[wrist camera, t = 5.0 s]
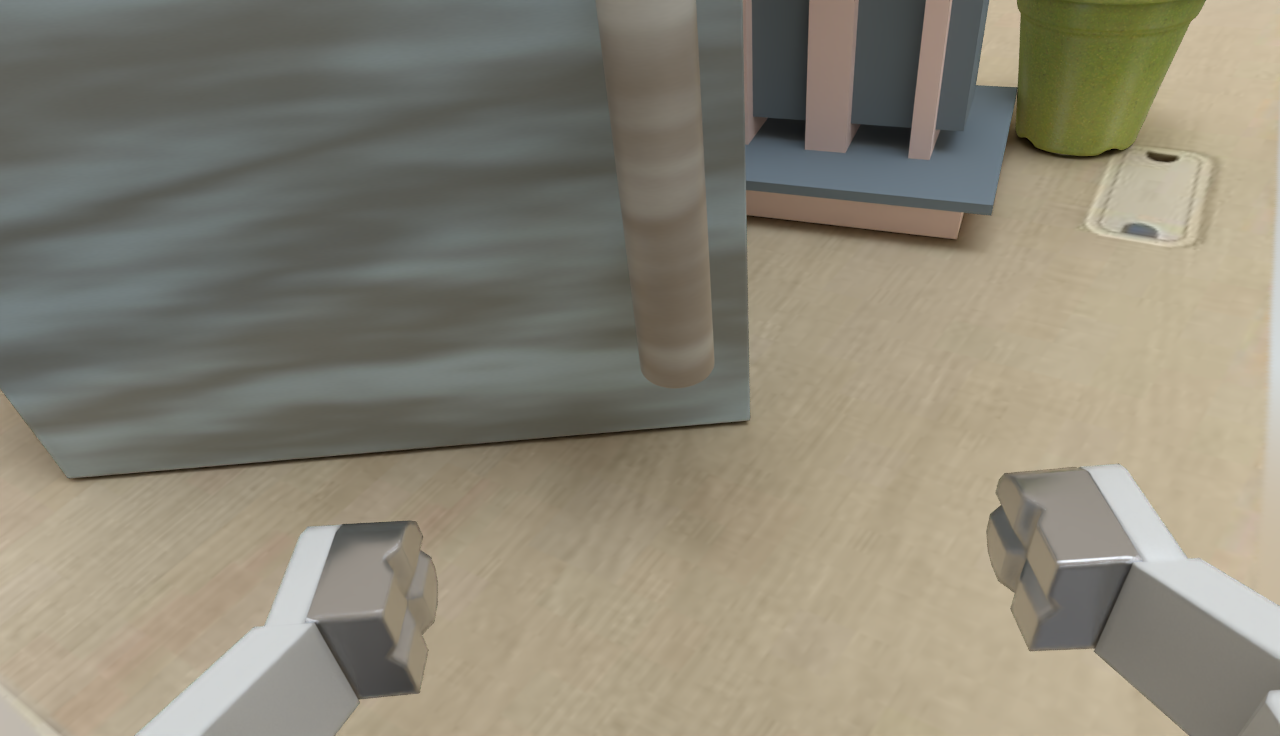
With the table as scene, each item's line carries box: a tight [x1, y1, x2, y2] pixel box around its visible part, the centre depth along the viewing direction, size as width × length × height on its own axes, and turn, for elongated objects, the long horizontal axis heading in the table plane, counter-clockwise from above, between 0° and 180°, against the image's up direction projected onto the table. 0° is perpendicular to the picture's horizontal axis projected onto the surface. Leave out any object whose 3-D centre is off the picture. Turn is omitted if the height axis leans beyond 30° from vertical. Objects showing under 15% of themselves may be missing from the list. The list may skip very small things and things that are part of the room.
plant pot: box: [1016, 0, 1206, 156], centre depth 44 cm, size 9×9×9 cm
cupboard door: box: [0, 0, 750, 478], centre depth 22 cm, size 7×26×24 cm, turn 91°
